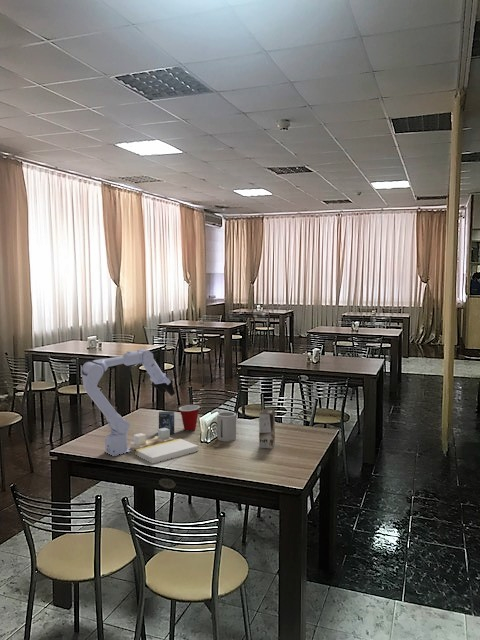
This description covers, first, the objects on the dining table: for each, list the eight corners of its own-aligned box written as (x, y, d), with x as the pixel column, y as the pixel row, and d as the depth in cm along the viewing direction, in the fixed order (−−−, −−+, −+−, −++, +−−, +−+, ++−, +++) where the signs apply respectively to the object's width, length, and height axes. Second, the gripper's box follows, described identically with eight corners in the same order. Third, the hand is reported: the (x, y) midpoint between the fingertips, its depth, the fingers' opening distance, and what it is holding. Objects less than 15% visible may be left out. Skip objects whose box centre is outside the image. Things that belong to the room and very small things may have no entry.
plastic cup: (177, 427, 274) (176, 405, 273) (197, 425, 278) (197, 403, 277) (181, 433, 264) (180, 410, 263) (202, 431, 267) (201, 408, 266)
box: (158, 435, 262) (158, 414, 261) (159, 431, 267) (158, 411, 266) (174, 434, 263) (174, 413, 262) (174, 431, 268) (174, 410, 268)
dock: (152, 463, 221) (152, 457, 221) (135, 455, 232) (135, 449, 231) (198, 451, 237) (198, 445, 237) (180, 443, 248) (180, 438, 247)
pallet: (140, 453, 234) (140, 447, 234) (130, 448, 241) (130, 442, 241) (173, 444, 246) (173, 438, 246) (163, 440, 253) (163, 434, 253)
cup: (237, 435, 260) (236, 411, 259) (235, 441, 251) (234, 416, 250) (218, 435, 261) (218, 411, 260) (216, 440, 252) (216, 416, 251)
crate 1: (138, 445, 236) (138, 436, 236) (133, 443, 239) (133, 434, 239) (146, 443, 239) (145, 434, 239) (141, 441, 242) (141, 433, 242)
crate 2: (162, 439, 245) (162, 431, 245) (158, 437, 248) (157, 429, 248) (169, 437, 248) (169, 429, 247) (165, 435, 251) (165, 427, 250)
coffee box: (272, 448, 240) (272, 414, 239) (258, 448, 241) (258, 413, 240) (275, 442, 249) (275, 409, 248) (261, 441, 250) (261, 408, 249)
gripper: (168, 367, 241) (183, 389, 247) (152, 364, 252) (166, 386, 258) (158, 377, 238) (172, 399, 243) (141, 374, 249) (156, 395, 254)
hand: (168, 393), depth 250 cm, fingers open, 7 cm apart
